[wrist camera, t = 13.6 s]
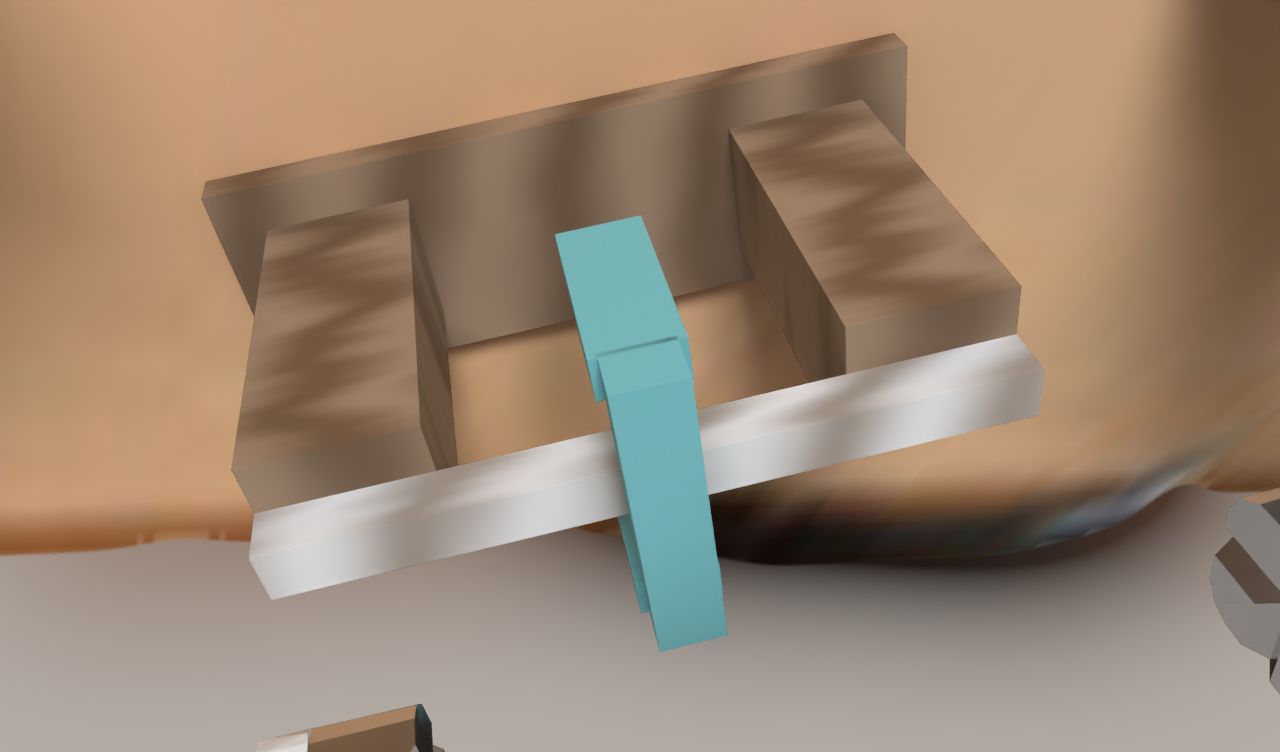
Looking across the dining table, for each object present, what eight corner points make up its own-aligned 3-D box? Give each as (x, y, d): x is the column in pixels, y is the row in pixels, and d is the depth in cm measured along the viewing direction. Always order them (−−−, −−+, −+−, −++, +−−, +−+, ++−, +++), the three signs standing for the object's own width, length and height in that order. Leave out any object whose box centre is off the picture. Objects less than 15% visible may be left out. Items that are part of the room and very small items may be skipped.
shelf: (893, 32, 47) (1119, 253, 33) (892, 228, 54) (1081, 484, 39) (205, 181, 45) (128, 483, 31) (287, 366, 52) (254, 687, 37)
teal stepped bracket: (640, 215, 37) (702, 374, 30) (679, 459, 44) (736, 632, 37) (554, 234, 37) (597, 398, 30) (607, 476, 44) (651, 654, 37)
